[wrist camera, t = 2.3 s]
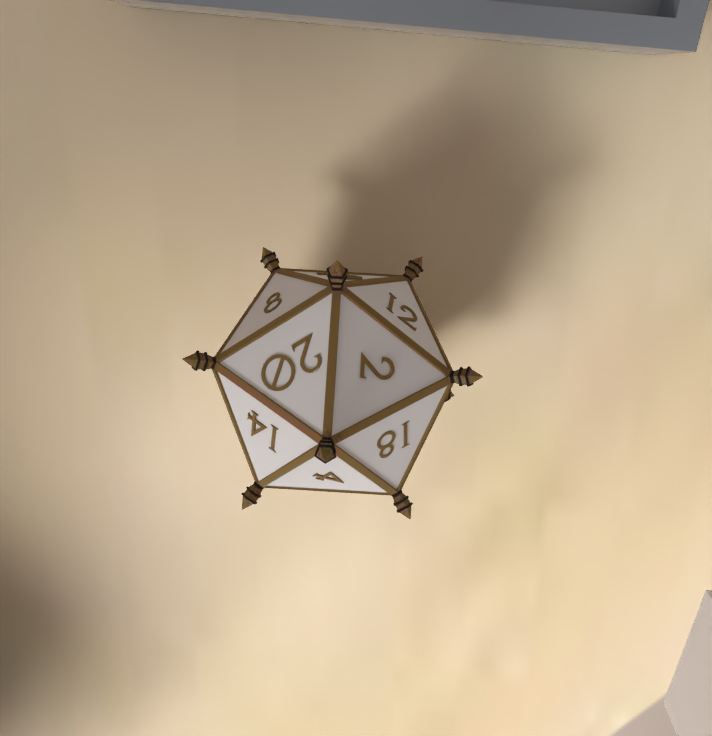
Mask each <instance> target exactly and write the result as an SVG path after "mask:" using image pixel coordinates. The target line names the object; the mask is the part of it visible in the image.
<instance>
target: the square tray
mask: <svg viewBox="0 0 712 736" xmlns="http://www.w3.org/2000/svg"><path fill="white" fill-rule="evenodd" d="M111 1H114V2H118V3H121V4H125V5H128V6H131V7H139V8H150V9H161V10H172V11H183V12H194V13H205V14H215V15H226V16H237V17H248V18H259V19H270V20H281V21H291V22H302V23H313V24H324V25H335V26H346V27H357V28H367V29H378V30H389V31H400V32H411V33H422V34H433V35H443V36H454V37H465V38H476V39H487V40H498V41H509V42H519V43H530V44H541V45H552V46H563V47H574V48H585V49H595V50H606V51H617V52H628V53H639V54H650V55H662V54H675V53H687V52H696V49H697V45H698V41H699V38H700V34H701V30H702V26H703V22H704V18H705V14H706V11H707V7H708V3H709V0H111Z"/></svg>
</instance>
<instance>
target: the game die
mask: <svg viewBox="0 0 712 736" xmlns="http://www.w3.org/2000/svg"><path fill="white" fill-rule="evenodd" d="M261 262H263V263H264V265H265V266H264V268H267V269H268V270H269V271H270V272H271V275H270V276H269V278H268V279H267V281H266V282H265V284H264V285H263V286H262V288H261V289H260V291H259V292H258V294H257V295H256V297H255V298H254V300H253V301H252V303H251V304H250V306H249V307H248V308H247V310H246V311H245V313H244V314H243V316H242V317H241V319H240V320H239V322H238V323H237V325H236V326H235V328H234V329H233V330H232V332H231V333H230V335H229V336H228V338H227V339H226V341H225V342H224V344H223V345H222V347H221V348H220V350H219V351H218V352H217V354H216V355H215V357H211V356H209V355H207V352H205V353H204V354H203V353H199V351H196V352H195V353H194V354H192V355H190V356H188V357H185V358H183V360H184V361H185V362H187V363H188V364H190V365H191V366H192V368H193V369H194V370H196V371H197V369H201V370H203V371H205V370H206V369H210V368H211V369H212V370H213V373H214V375H215V378H216V381H217V383H218V386H219V389H220V391H221V394H222V396H223V399H224V402H225V404H226V407H227V409H228V412H229V415H230V417H231V420H232V423H233V425H234V428H235V430H236V433H237V436H238V438H239V441H240V443H241V446H242V449H243V451H244V454H245V456H246V459H247V462H248V464H249V467H250V470H251V472H252V475H253V477H254V480H255V482H254V484H253V485H251V486H250V487H247V490H246V492H245V493H242V495H243V502H242V509H244V508H246V507H248V506H250V505H252V504H257V502H256V501H257V499H258V498H260V497H261V495H260V494H261V491H262V489H264V488H279V489H295V490H312V491H328V492H345V493H361V494H378V495H392V497H393V499H394V503H393V504H394V506H395V505H396V507H397V509H398V510H397V512H398V513H399V512H400V513H401V514H403V515H404V516H406V517H407V518H409V519H410V517H411V505H412V504H413V503H410V502H409V500H408V498H409V497H408V496H405V495H404V494H403V493H402V490H401V489H402V487H403V485H404V483H405V481H406V479H407V477H408V475H409V473H410V471H411V469H412V467H413V465H414V463H415V461H416V459H417V457H418V455H419V453H420V451H421V448H422V446H423V444H424V442H425V440H426V438H427V436H428V434H429V432H430V430H431V428H432V426H433V424H434V422H435V420H436V418H437V416H438V414H439V412H440V410H441V408H442V406H443V404H444V402H446V401H448V400H449V399H450V398H451V397H453V396H454V395H453V393H452V392H451V387H452V385H453V383H457V384H459V386H462V385H467V386H471V385H473V382H475V381H477V380H478V379H480V378H482V377H483V376H481V375H480V374H478V373H476V372H475V371H473V370H472V369H471V368H470V366H469V367H468V368H467V369H463V368H462V367H460V369H459V370H457V371H453V370H452V367H451V365H450V363H449V361H448V359H447V357H446V355H445V353H444V351H443V349H442V346H441V344H440V342H439V340H438V338H437V336H436V334H435V332H434V330H433V328H432V325H431V323H430V321H429V319H428V317H427V315H426V313H425V311H424V309H423V307H422V304H421V302H420V300H419V298H418V296H417V294H416V292H415V290H414V288H413V286H412V283H411V281H412V280H413V279H414V278H415V277H419V275H418V274H419V273H420V272H423V270H422V257H420V258H417V259H415V260H412V261H411V260H410V261H409V265H408V266H406V267H405V273H404V275H387V274H370V273H353V272H348V269H346V268H344V267H343V266H342V265H341V264H340V263H339V262H338V261H336V262H335V263H334V264H333V265H332V266H331V267H329V268H327V271H320V270H303V269H286V268H280V267H279V265H278V263H279V261H278V258H277V259H276V254H275V252H271V251H269V250H267V249H266V248H264V247H263V254H262V260H261Z"/></svg>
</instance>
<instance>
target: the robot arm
mask: <svg viewBox="0 0 712 736" xmlns="http://www.w3.org/2000/svg"><path fill="white" fill-rule="evenodd" d="M663 704H664V706H665V709H666V711H667V713H668V715H669V717H670V720H671V722H672V724H673V726H674V729H675V731H676V733H677V735H678V736H712V591H711V590H706V591H705V594H704V597H703V599H702V602H701V605H700V607H699V610H698V613H697V615H696V618H695V620H694V623H693V626H692V628H691V631H690V634H689V636H688V639H687V642H686V644H685V647H684V649H683V652H682V655H681V657H680V660H679V663H678V665H677V668H676V671H675V673H674V676H673V678H672V681H671V684H670V686H669V689H668V692H667V694H666V697H665V699H664V702H663Z"/></svg>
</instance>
